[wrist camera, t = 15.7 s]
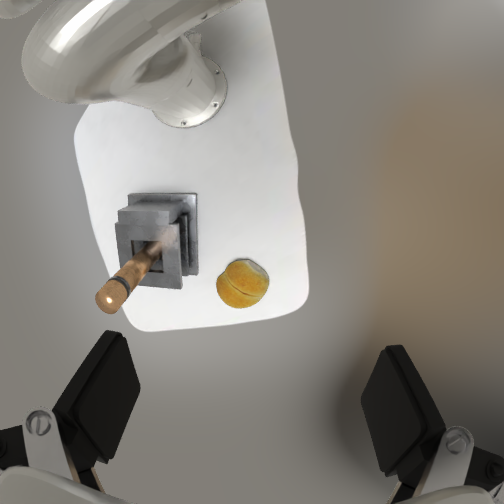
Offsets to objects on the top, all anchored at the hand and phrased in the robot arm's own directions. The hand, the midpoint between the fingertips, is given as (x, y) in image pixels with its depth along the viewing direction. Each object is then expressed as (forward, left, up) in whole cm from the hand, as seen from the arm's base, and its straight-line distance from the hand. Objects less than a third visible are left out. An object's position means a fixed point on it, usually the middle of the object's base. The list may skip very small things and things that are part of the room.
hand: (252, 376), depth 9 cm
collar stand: (+8, -16, -36) cm, 40 cm away
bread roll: (+15, -2, -37) cm, 40 cm away
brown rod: (+8, -16, -35) cm, 40 cm away
